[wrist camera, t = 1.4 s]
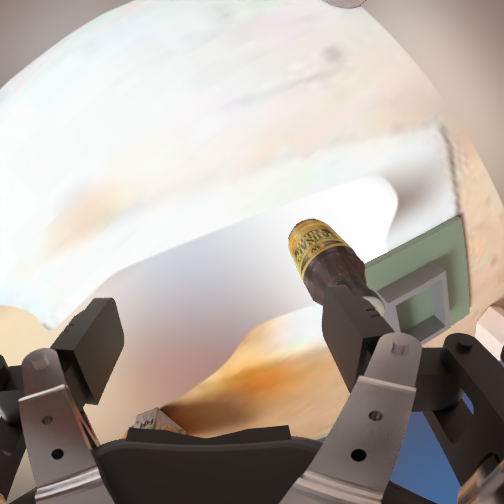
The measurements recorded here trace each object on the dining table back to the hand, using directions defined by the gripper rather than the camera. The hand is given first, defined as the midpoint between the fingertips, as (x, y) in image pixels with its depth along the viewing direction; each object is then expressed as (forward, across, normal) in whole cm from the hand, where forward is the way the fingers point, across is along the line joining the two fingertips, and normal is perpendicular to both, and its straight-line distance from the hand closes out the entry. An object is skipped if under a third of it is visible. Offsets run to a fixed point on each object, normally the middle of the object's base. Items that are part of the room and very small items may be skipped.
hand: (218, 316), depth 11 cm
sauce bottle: (+29, -10, +6) cm, 31 cm away
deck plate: (+28, -28, +17) cm, 44 cm away
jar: (+29, -53, +26) cm, 66 cm away
